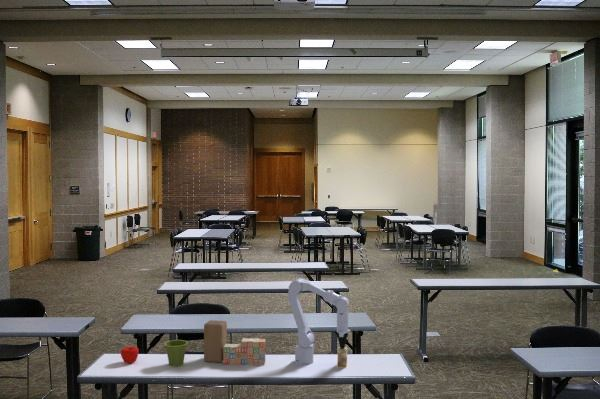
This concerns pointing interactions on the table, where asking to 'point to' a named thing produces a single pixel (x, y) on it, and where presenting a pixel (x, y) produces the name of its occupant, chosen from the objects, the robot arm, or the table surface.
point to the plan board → (342, 367)
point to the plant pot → (176, 351)
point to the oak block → (342, 362)
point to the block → (214, 340)
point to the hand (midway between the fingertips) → (342, 347)
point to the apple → (129, 354)
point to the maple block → (342, 352)
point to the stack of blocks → (245, 352)
